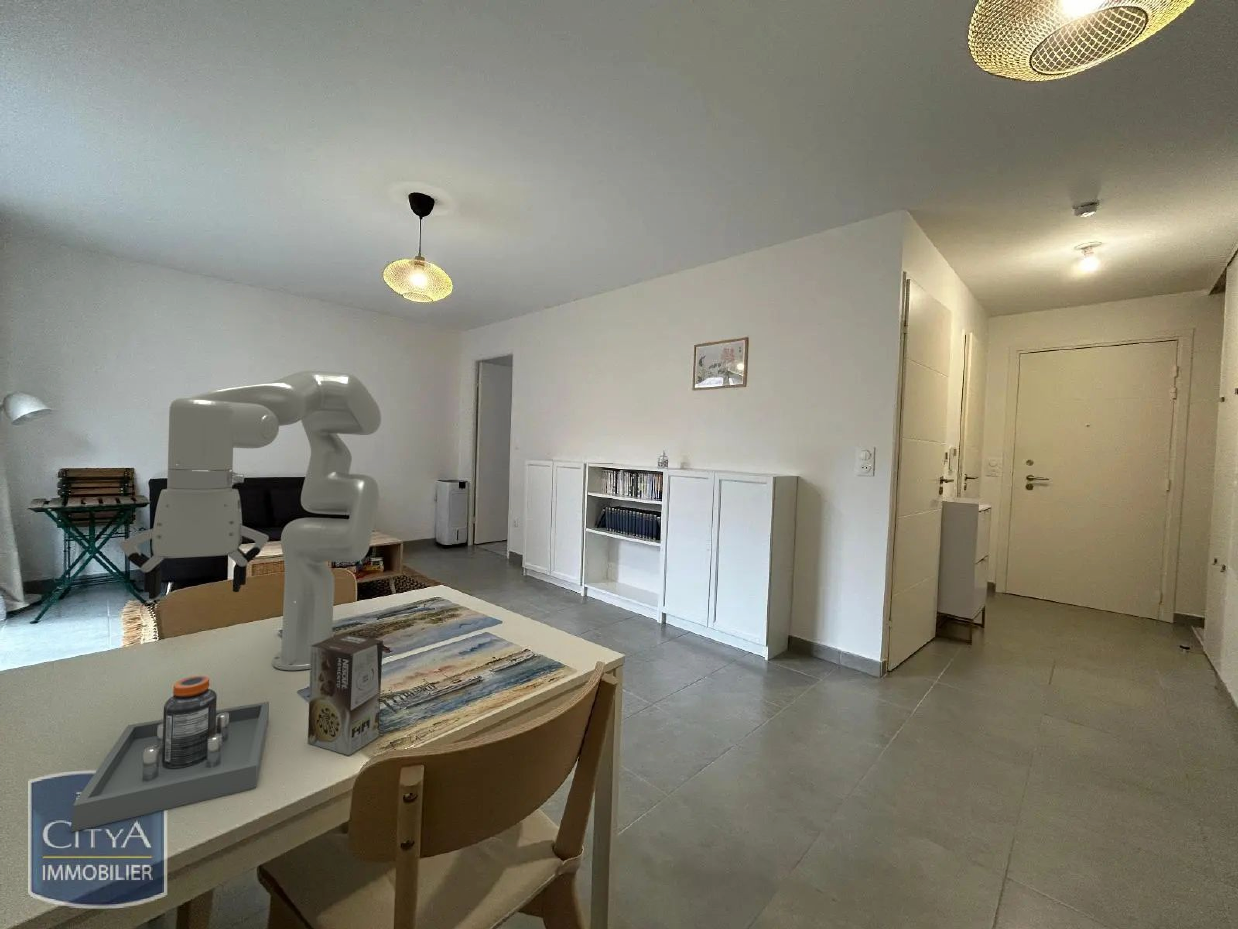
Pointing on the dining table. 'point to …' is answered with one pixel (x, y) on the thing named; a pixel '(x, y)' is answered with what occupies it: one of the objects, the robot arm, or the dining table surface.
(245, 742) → the pin tray
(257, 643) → the dining table surface
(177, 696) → the pill bottle
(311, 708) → the coffee box
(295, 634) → the robot arm
